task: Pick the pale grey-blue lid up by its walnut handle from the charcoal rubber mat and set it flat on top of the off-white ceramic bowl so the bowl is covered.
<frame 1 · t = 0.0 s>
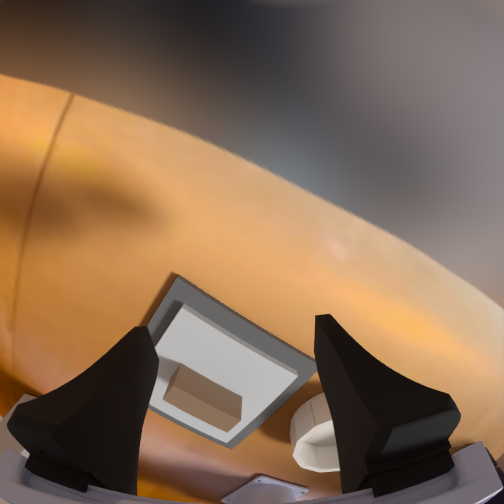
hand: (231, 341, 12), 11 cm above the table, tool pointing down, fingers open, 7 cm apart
skincare box: (47, 407, 28), on the table
mat: (208, 378, 25), on the table
lid: (207, 382, 25), point 1 cm above the table, touching mat
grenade: (460, 462, 31), on the table
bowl: (333, 419, 27), on the table
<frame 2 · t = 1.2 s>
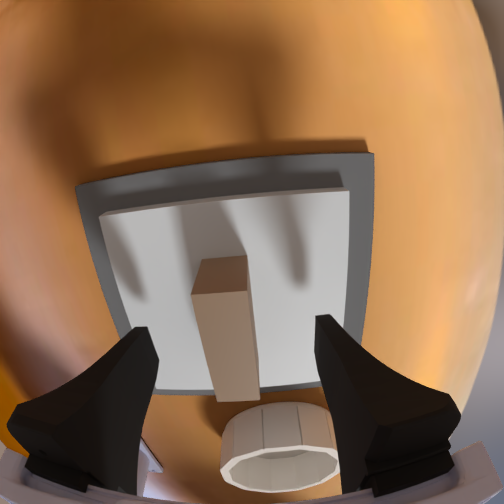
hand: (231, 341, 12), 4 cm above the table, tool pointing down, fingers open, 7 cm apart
mat: (233, 298, 16), on the table
lid: (233, 304, 15), point 1 cm above the table, touching mat
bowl: (280, 432, 21), on the table
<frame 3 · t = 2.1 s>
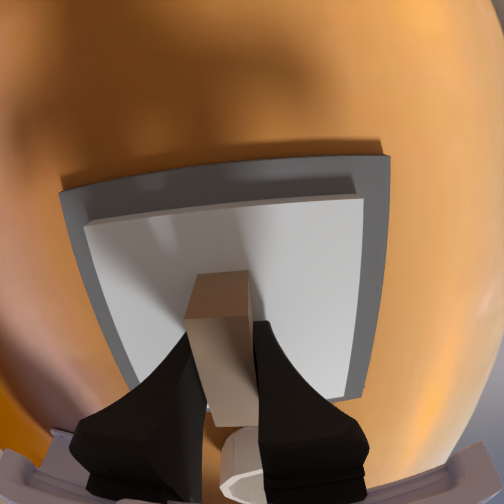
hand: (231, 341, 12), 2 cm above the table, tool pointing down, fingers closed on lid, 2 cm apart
mat: (233, 314, 14), on the table
lid: (233, 321, 14), point 1 cm above the table, touching gripper, mat
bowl: (282, 446, 20), on the table
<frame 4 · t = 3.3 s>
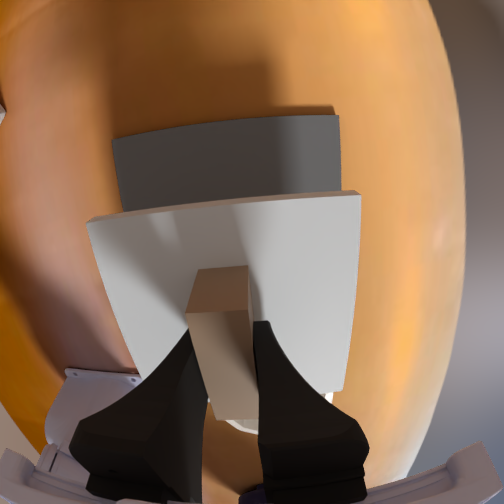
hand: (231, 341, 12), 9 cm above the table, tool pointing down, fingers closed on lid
mat: (232, 229, 20), on the table
lid: (233, 316, 14), point 7 cm above the table, touching gripper
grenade: (279, 491, 38), on the table
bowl: (273, 372, 25), on the table
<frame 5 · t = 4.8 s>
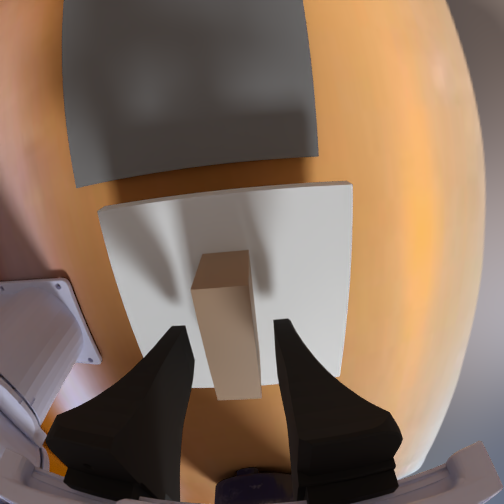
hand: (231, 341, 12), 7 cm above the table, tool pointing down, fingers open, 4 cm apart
mat: (175, 46, 13), on the table
lid: (234, 301, 15), point 4 cm above the table, touching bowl
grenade: (267, 481, 32), on the table
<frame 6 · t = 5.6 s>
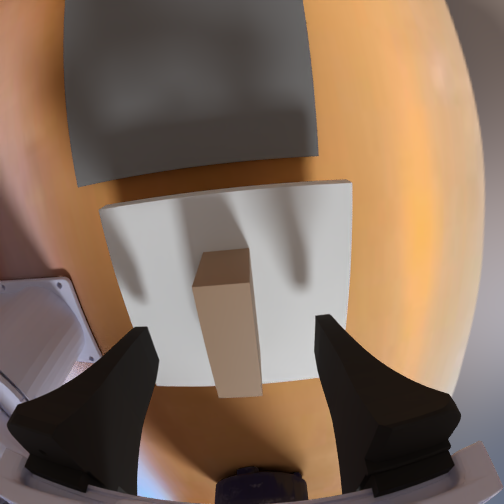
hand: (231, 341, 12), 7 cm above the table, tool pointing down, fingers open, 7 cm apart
mat: (176, 47, 13), on the table
lid: (235, 299, 15), point 4 cm above the table, touching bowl
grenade: (267, 480, 32), on the table
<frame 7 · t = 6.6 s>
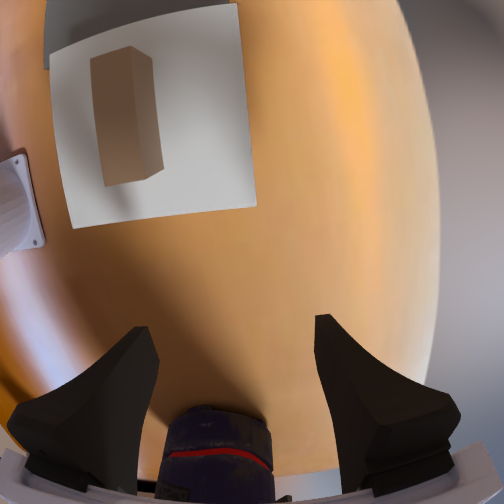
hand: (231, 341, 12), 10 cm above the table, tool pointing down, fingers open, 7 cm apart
lid: (143, 116, 14), point 4 cm above the table
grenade: (227, 431, 31), on the table
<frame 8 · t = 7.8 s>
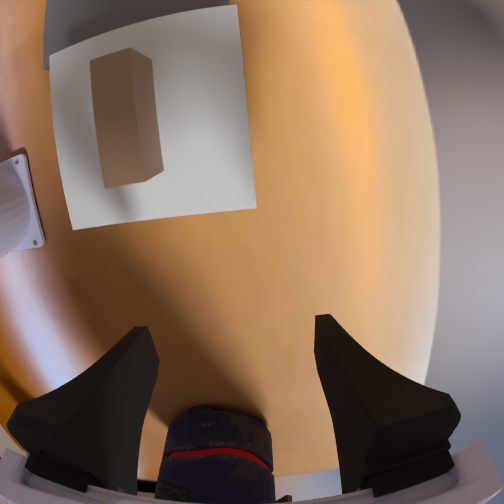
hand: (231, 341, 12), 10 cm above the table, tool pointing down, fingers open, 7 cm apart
lid: (143, 117, 14), point 4 cm above the table
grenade: (227, 431, 31), on the table
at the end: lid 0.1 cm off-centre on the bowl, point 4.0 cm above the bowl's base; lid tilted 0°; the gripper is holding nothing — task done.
